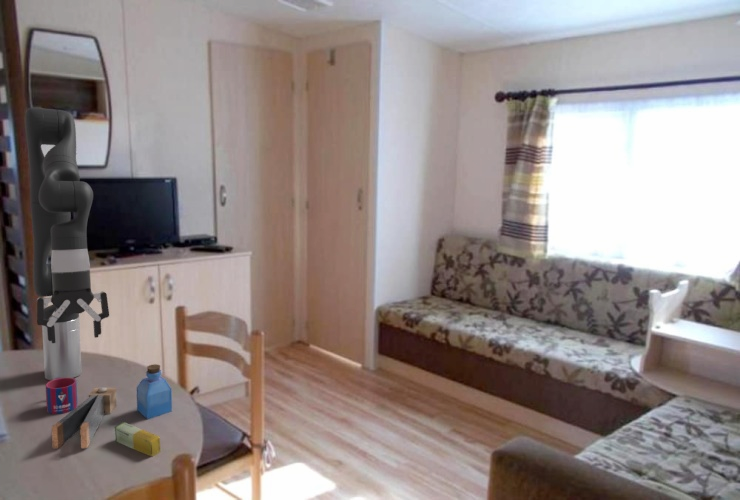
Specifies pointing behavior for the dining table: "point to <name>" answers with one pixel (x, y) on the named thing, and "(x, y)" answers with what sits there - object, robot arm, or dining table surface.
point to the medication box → (137, 439)
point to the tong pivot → (106, 398)
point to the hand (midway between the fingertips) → (75, 339)
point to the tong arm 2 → (92, 421)
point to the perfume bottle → (154, 394)
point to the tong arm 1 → (71, 423)
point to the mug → (61, 395)
